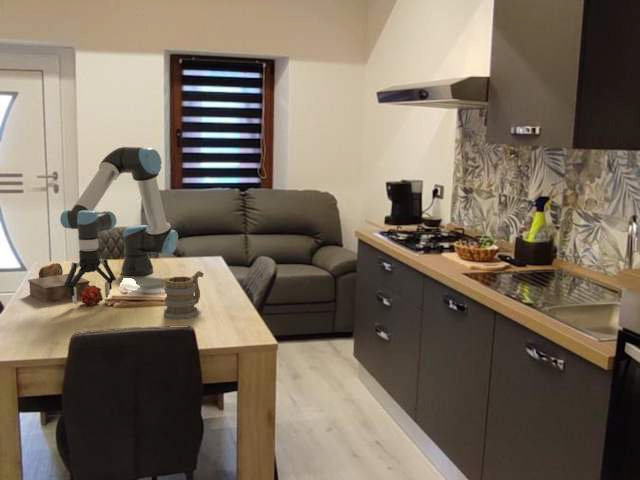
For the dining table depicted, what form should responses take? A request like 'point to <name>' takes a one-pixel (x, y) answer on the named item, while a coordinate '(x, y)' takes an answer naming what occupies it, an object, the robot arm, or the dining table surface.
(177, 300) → the tankard
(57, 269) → the tin
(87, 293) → the dragon fruit
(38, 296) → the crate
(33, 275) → the dining table surface
